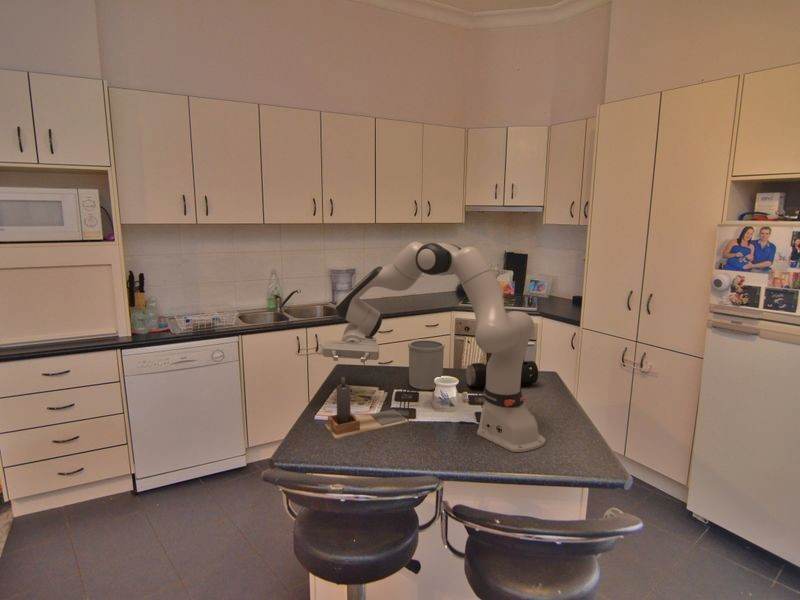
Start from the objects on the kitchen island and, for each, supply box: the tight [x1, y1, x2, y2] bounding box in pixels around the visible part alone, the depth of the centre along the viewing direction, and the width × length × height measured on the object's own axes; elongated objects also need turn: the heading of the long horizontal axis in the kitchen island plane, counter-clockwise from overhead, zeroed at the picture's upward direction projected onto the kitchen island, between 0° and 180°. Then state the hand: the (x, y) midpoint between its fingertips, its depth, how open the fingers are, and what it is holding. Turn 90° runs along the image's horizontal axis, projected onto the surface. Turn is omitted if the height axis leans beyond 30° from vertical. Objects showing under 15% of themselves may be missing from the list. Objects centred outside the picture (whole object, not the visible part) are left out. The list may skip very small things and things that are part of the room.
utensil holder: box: [407, 338, 445, 391], centre depth 194 cm, size 15×15×18 cm
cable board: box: [323, 408, 410, 439], centre depth 156 cm, size 11×26×4 cm, turn 118°
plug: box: [335, 376, 352, 425], centre depth 152 cm, size 4×4×17 cm
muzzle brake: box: [465, 360, 539, 389], centre depth 192 cm, size 10×28×10 cm, turn 100°
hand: (349, 359), depth 161 cm, fingers open, 8 cm apart
